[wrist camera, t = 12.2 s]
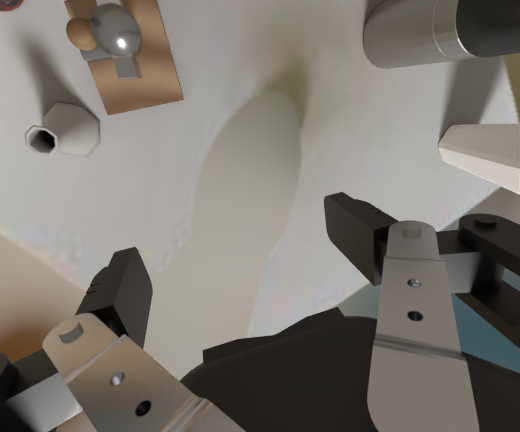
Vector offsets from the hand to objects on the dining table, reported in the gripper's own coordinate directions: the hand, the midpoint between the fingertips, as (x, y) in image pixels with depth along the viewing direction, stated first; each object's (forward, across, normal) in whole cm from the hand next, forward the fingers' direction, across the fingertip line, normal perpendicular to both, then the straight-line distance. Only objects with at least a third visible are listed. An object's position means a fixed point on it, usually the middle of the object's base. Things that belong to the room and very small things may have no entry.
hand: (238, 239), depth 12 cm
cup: (+36, -46, +12) cm, 60 cm away
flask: (+36, +17, -4) cm, 40 cm away
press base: (+36, +6, -11) cm, 38 cm away
